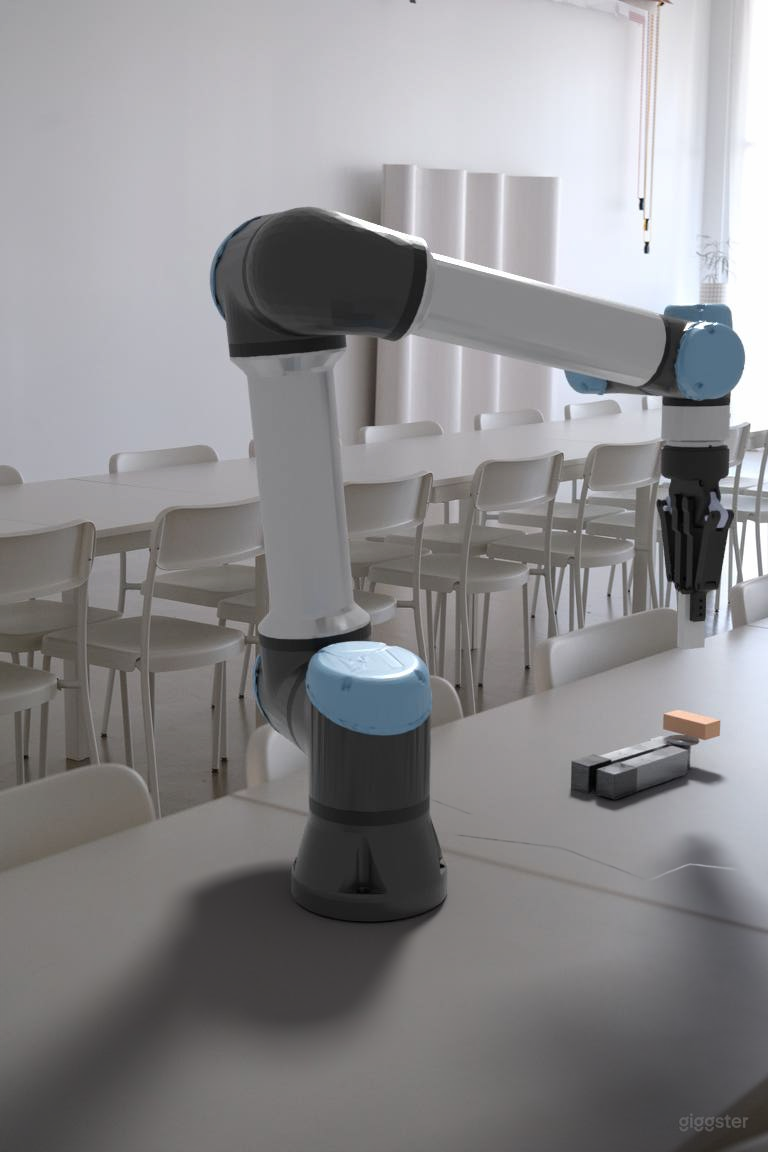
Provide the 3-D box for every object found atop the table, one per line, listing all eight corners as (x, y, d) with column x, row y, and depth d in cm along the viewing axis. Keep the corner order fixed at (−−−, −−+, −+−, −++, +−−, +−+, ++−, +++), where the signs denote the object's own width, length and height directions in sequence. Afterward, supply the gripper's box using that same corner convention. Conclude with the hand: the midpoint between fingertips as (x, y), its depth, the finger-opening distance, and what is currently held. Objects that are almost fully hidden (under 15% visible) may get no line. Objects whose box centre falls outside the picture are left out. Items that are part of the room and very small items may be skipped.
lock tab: (677, 724, 176) (678, 709, 176) (719, 735, 171) (720, 720, 171) (663, 729, 174) (663, 713, 174) (704, 740, 170) (705, 724, 169)
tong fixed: (662, 758, 175) (663, 732, 175) (693, 767, 172) (694, 741, 171) (569, 787, 164) (569, 760, 164) (600, 797, 161) (601, 770, 160)
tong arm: (678, 757, 175) (679, 732, 174) (709, 766, 171) (710, 741, 171) (582, 789, 162) (583, 763, 162) (614, 799, 159) (615, 772, 158)
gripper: (757, 445, 151) (750, 656, 155) (693, 437, 163) (689, 632, 167) (697, 449, 149) (692, 662, 153) (637, 440, 161) (634, 638, 165)
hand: (690, 646), depth 160 cm, fingers closed
